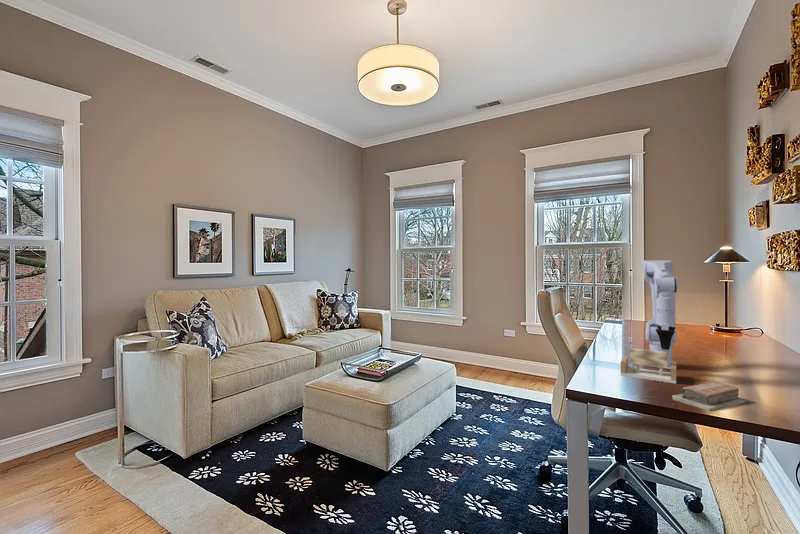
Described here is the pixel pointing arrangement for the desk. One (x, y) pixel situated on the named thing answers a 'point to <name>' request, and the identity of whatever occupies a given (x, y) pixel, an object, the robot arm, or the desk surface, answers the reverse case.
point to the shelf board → (648, 357)
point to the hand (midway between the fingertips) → (665, 347)
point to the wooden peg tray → (648, 372)
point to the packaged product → (710, 396)
